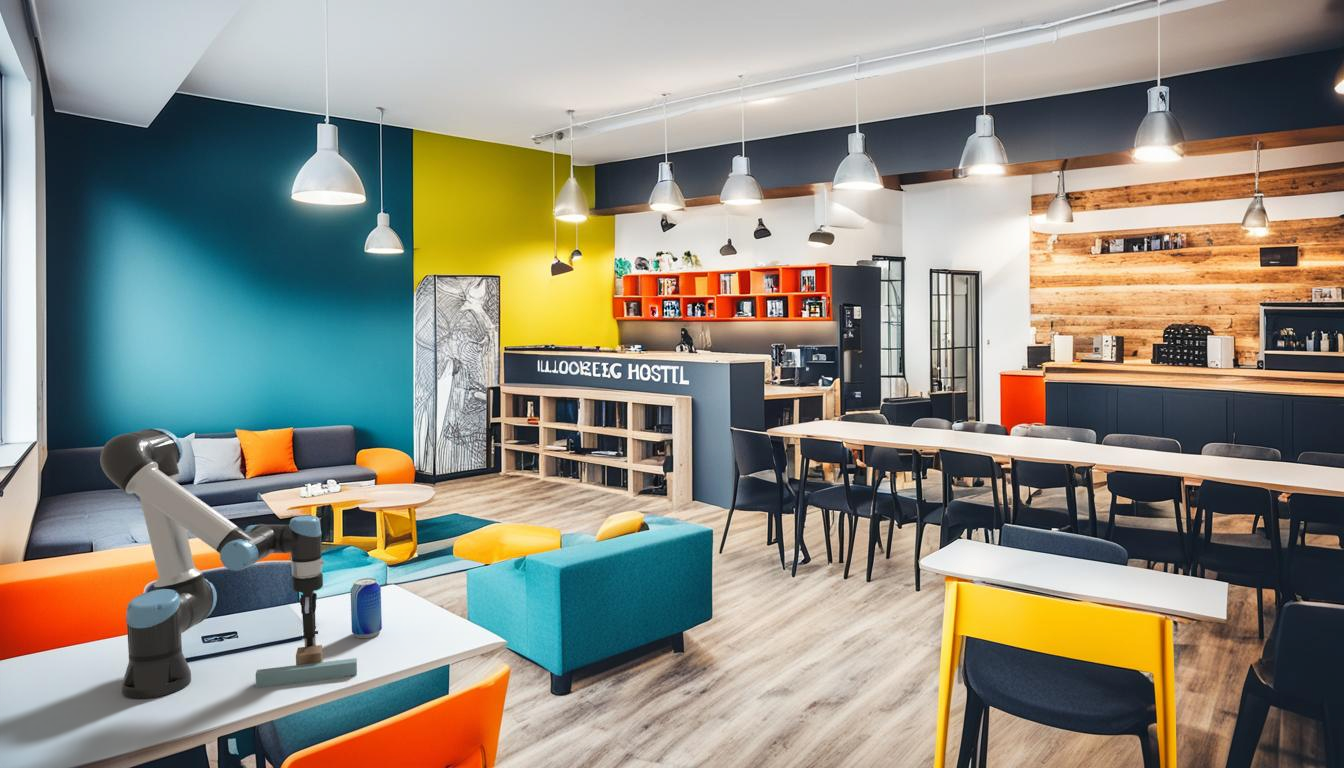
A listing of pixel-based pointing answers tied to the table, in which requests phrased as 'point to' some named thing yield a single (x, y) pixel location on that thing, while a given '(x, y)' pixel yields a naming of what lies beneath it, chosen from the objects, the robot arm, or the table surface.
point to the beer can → (366, 608)
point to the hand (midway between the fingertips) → (310, 659)
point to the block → (309, 655)
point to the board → (305, 672)
